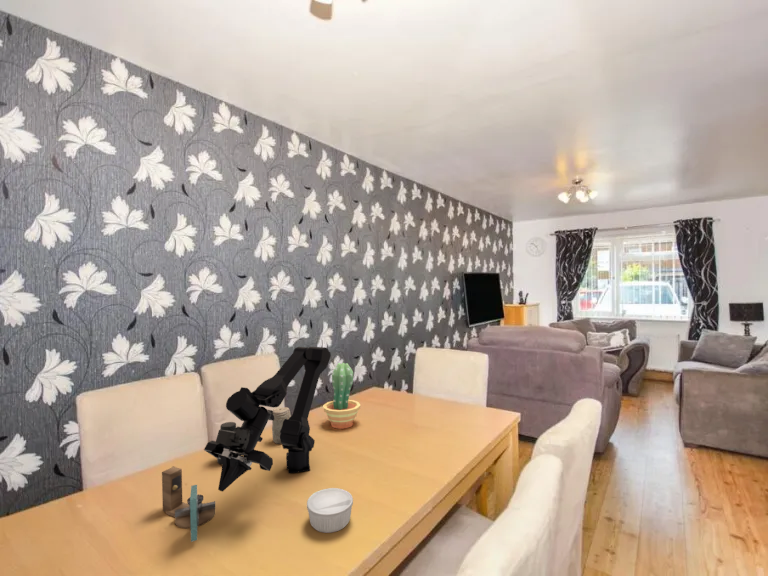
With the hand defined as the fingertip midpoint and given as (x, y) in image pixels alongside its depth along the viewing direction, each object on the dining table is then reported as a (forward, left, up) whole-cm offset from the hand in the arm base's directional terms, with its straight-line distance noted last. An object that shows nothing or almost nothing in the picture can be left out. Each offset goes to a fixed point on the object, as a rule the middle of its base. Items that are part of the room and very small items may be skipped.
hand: (220, 490), depth 93 cm
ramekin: (-26, +7, -8) cm, 28 cm away
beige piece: (-15, -46, -8) cm, 49 cm away
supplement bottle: (+2, -35, -8) cm, 36 cm away
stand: (+9, -7, -8) cm, 13 cm away
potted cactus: (-39, -56, -8) cm, 69 cm away
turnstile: (+6, -1, -7) cm, 9 cm away
